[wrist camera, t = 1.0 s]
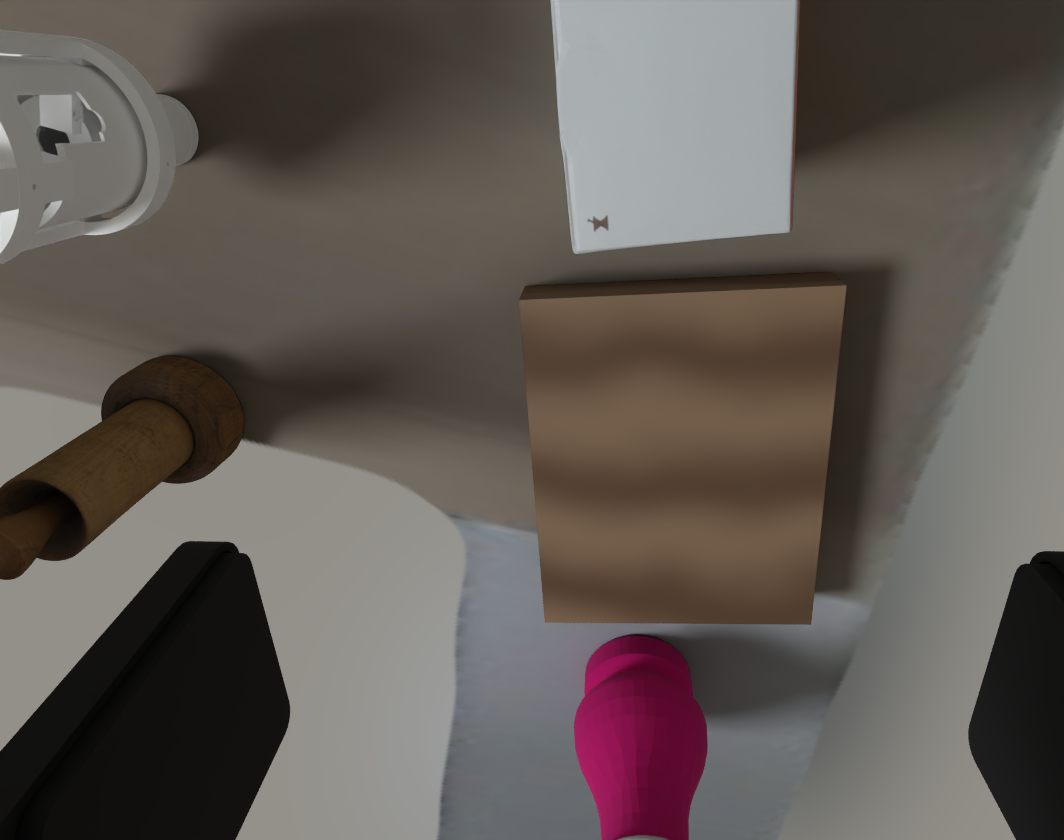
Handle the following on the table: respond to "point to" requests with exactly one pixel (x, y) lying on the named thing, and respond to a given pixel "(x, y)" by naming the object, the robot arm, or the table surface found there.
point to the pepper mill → (640, 739)
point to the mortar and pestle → (119, 460)
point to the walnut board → (681, 445)
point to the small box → (676, 118)
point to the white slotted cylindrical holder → (81, 141)
